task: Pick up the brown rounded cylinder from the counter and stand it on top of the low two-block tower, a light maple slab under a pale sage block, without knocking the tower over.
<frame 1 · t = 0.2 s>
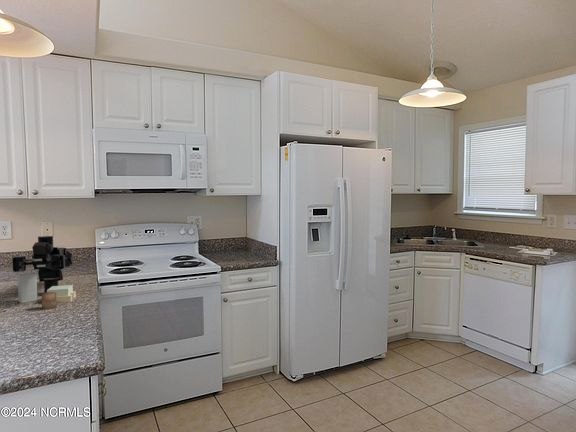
hand: (32, 266, 154), 17 cm above the worktop, tool horizontal, fingers open, 9 cm apart
skincare box: (27, 301, 165), on the worktop
brown rounded cylinder: (49, 307, 155), on the worktop
maple block: (60, 301, 167), on the worktop
sage block: (60, 294, 167), point 2 cm above the worktop
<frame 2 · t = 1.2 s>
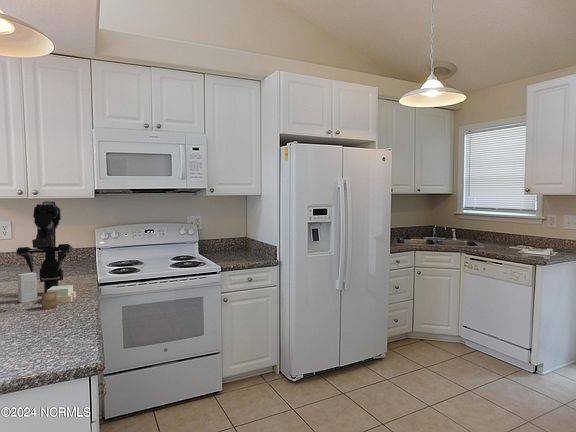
hand: (45, 271, 154), 15 cm above the worktop, tool tilted 15°, fingers open, 9 cm apart
maple block: (60, 301, 167), on the worktop, touching sage block
sage block: (60, 294, 167), point 2 cm above the worktop, touching maple block
everything else where it was.
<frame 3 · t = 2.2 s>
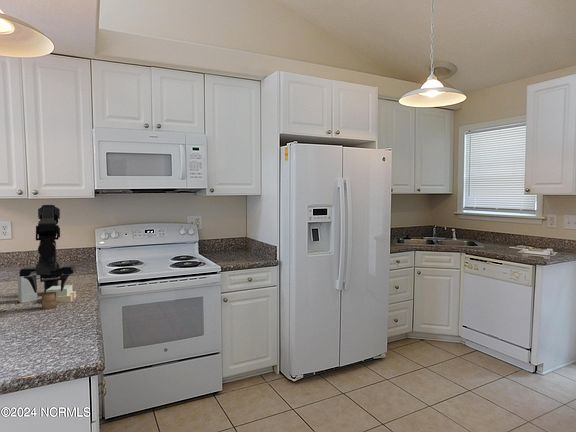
hand: (48, 291, 154), 7 cm above the worktop, tool pointing down, fingers open, 9 cm apart
maple block: (60, 301, 167), on the worktop
sage block: (59, 294, 167), point 2 cm above the worktop
everything else where it was.
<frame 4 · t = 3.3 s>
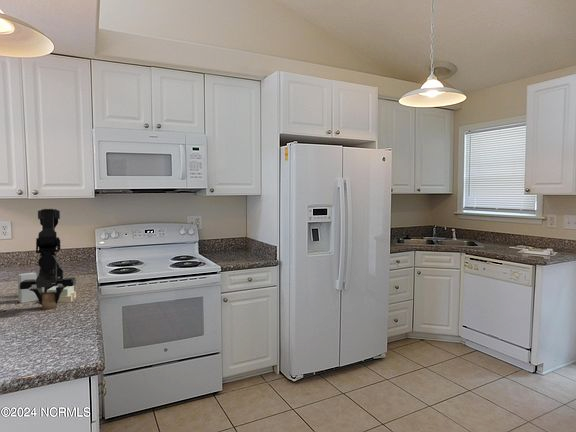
hand: (49, 304, 154), 2 cm above the worktop, tool pointing down, fingers closed on brown rounded cylinder, 5 cm apart
brown rounded cylinder: (49, 307, 155), on the worktop, touching gripper
maple block: (60, 301, 167), on the worktop, touching sage block
sage block: (60, 294, 167), point 2 cm above the worktop, touching maple block
everything else where it was.
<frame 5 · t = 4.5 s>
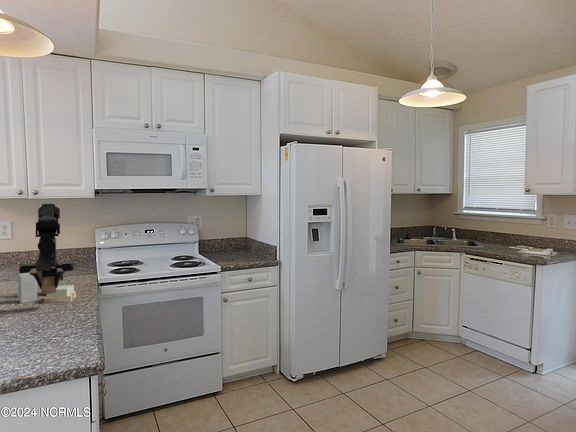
hand: (48, 288, 154), 8 cm above the worktop, tool pointing down, fingers closed on brown rounded cylinder, 5 cm apart
brown rounded cylinder: (48, 292, 154), point 6 cm above the worktop, touching gripper
maple block: (60, 301, 167), on the worktop
sage block: (60, 294, 167), point 2 cm above the worktop
everything else where it was.
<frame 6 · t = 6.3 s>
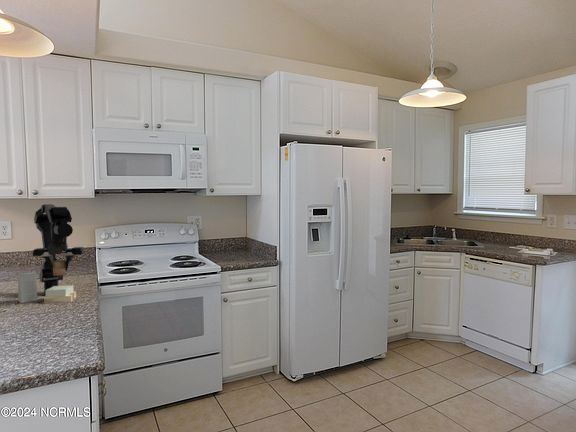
hand: (59, 271, 167), 13 cm above the worktop, tool pointing down, fingers closed on brown rounded cylinder, 5 cm apart
brown rounded cylinder: (59, 274, 167), point 11 cm above the worktop, touching gripper
maple block: (61, 301, 167), on the worktop, touching sage block
sage block: (59, 294, 167), point 2 cm above the worktop, touching maple block
everything else where it was.
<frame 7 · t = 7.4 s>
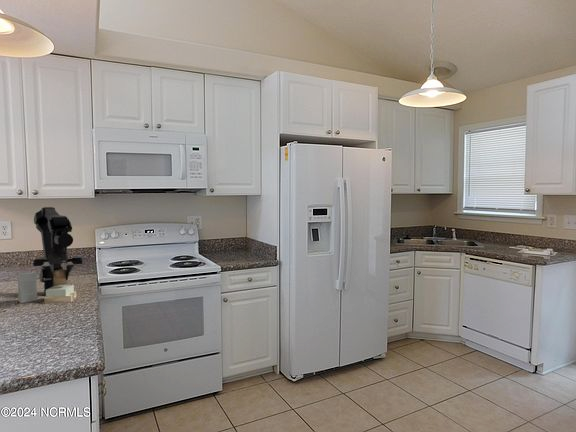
hand: (60, 280, 167), 8 cm above the worktop, tool pointing down, fingers closed on brown rounded cylinder, 5 cm apart
brown rounded cylinder: (60, 284, 167), point 7 cm above the worktop, touching gripper
everything else where it was.
when the fingers open (8 cm above the worktop, at t = 7.5 s): brown rounded cylinder drops 2 cm, resting on sage block.
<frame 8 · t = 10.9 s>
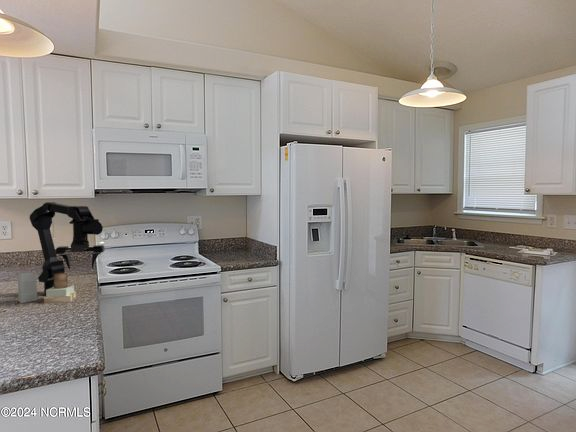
hand: (81, 268, 171), 13 cm above the worktop, tool pointing down, fingers open, 9 cm apart
brown rounded cylinder: (60, 287, 167), point 5 cm above the worktop, touching sage block
sage block: (60, 294, 167), point 2 cm above the worktop, touching maple block, brown rounded cylinder
everything else where it was.
at the end: brown rounded cylinder 0.2 cm off-centre on the sage block, point 3.0 cm above the sage block's base; brown rounded cylinder tilted 1°; sage block moved 0.6 cm from its start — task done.
